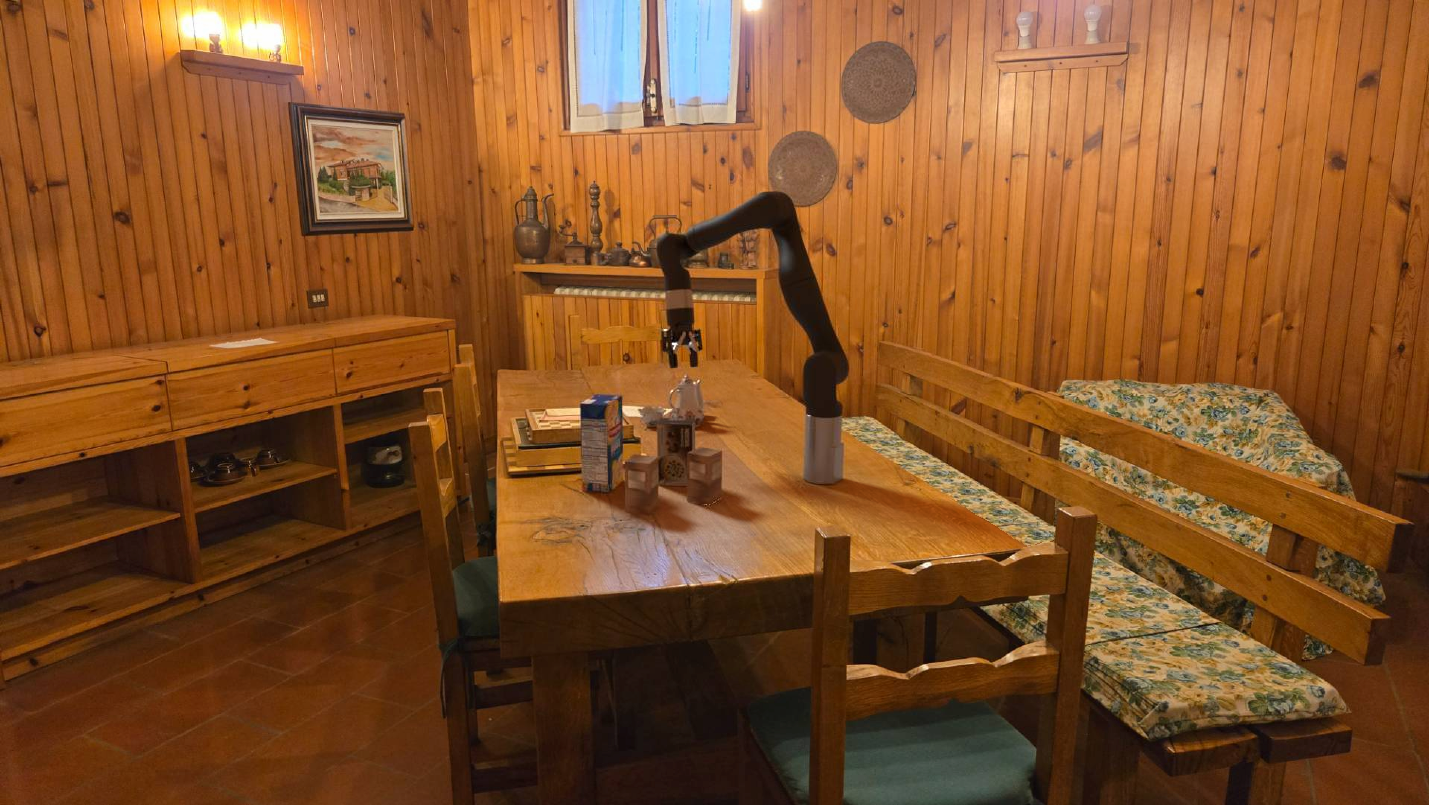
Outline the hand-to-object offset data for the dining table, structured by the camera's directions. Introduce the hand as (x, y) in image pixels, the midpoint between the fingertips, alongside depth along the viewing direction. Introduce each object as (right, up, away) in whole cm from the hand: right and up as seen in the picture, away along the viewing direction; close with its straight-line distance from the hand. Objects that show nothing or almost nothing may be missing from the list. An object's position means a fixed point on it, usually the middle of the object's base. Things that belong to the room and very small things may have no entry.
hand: (684, 367), depth 253 cm
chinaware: (-3, -16, +43) cm, 46 cm away
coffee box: (-1, -30, -17) cm, 34 cm away
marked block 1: (-9, -34, -37) cm, 51 cm away
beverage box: (-20, -30, -20) cm, 41 cm away
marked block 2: (+6, -33, -30) cm, 45 cm away
